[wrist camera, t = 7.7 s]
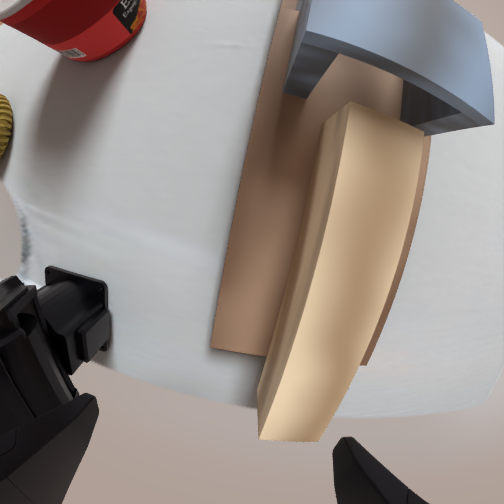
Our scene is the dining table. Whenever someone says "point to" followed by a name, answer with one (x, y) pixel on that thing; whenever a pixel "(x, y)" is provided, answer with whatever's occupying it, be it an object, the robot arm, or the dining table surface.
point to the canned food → (76, 24)
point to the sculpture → (4, 123)
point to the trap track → (322, 108)
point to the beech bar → (339, 269)
